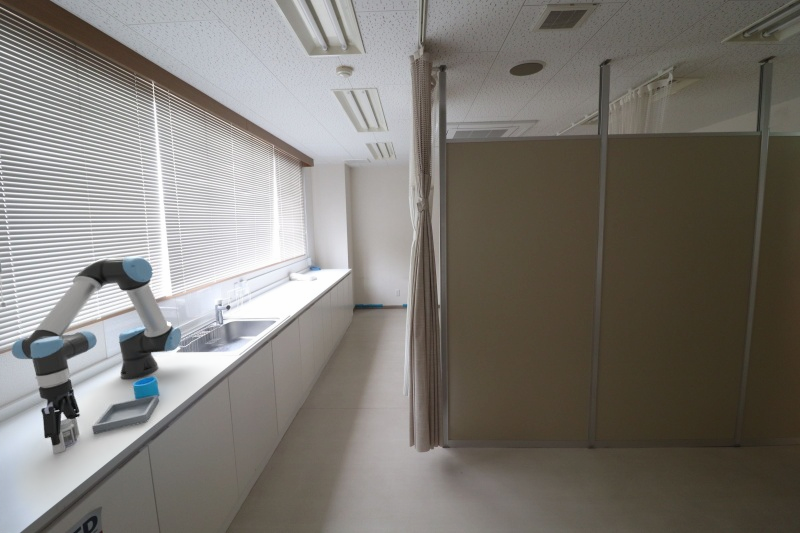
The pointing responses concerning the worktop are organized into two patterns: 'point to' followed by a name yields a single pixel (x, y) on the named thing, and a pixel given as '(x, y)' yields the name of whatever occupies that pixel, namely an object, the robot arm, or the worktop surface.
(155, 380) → the mug
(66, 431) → the pill bottle
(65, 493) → the worktop surface
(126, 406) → the tray
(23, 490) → the worktop surface
